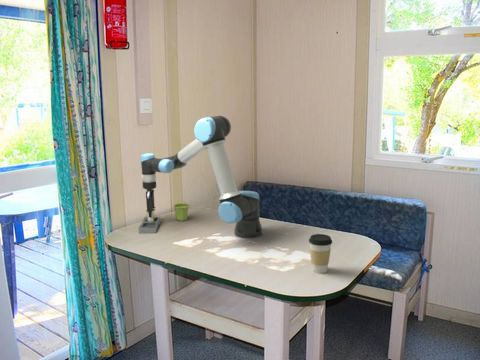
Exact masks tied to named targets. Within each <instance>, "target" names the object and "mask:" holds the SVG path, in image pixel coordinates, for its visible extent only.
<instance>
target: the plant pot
mask: <svg viewBox="0 0 480 360" xmlns="http://www.w3.org/2000/svg"><path fill="white" fill-rule="evenodd" d="M189 207H190V204H188V203H184V202H183V203H175V204H173V209H174V212H175V218H176V221H180V222H182V221H186V220H188V214H189V213H188V212H189Z"/></svg>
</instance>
